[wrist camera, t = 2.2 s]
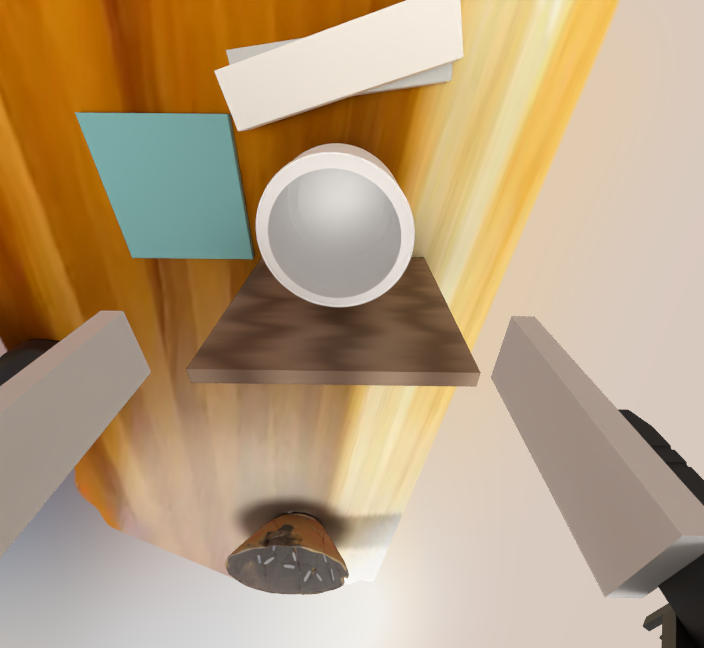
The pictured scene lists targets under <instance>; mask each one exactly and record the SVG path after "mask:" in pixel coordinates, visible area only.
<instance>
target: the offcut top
mask: <svg viewBox="0 0 704 648" xmlns="http://www.w3.org/2000/svg"><path fill="white" fill-rule="evenodd" d="M461 58H463V40H462V22H461V4H460V0H406V1H403V2H401V3H398V4H395V5H392V6H390V7H387V8H384V9H382V10H379V11H376V12H373V13H371V14H368V15H365V16H362V17H360V18H357V19H354V20H352V21H349V22H346V23H343V24H341V25H338V26H335V27H332V28H330V29H327V30H324V31H321V32H319V33H316V34H313V35H311V36H308V37H305V38H302V39H300V40H297V41H294V42H291V43H289V44H286V45H283V46H281V47H278V48H275V49H272V50H270V51H267V52H264V53H261V54H259V55H256V56H253V57H251V58H248V59H245V60H242V61H240V62H237V63H234V64H231V65H229V66H226V67H223V68H220V69H218V70H215V71H214V72H215V74H216V77H217V79H218V82H219V84H220V87H221V89H222V92H223V94H224V97H225V99H226V102H227V105H228V107H229V110H230V112H231V115H232V117H233V120H234V122H235V125H236V127H237V130H238V131H247V130H251V129H254V128H257V127H260V126H263V125H266V124H269V123H272V122H275V121H278V120H282V119H285V118H288V117H291V116H294V115H297V114H300V113H303V112H306V111H309V110H312V109H315V108H318V107H321V106H324V105H327V104H330V103H333V102H336V101H339V100H342V99H345V98H348V97H351V96H354V95H357V94H360V93H363V92H366V91H370V90H373V89H376V88H379V87H382V86H385V85H388V84H391V83H394V82H397V81H400V80H403V79H406V78H409V77H412V76H415V75H418V74H421V73H424V72H427V71H430V70H433V69H436V68H439V67H442V66H445V65H448V64H451V63H454V62H456V61H457V60H459V59H461Z"/></svg>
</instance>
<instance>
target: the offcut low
mask: <svg viewBox="0 0 704 648" xmlns="http://www.w3.org/2000/svg"><path fill="white" fill-rule="evenodd" d="M300 39H302V38H300ZM300 39H294V40H287V41H281V42H275V43H268V44H262V45H255V46H249V47H243V48H236V49H230V50H226V52H227V56H228V60H229V64H230V65H231V64H234V63H237V62H240V61H242V60H245V59H248V58H251V57H253V56H256V55H259V54H261V53H264V52H267V51H270V50H272V49H275V48H278V47H281V46H283V45H286V44H289V43H291V42H294V41H297V40H300ZM452 66H453V63H451V64H448V65H445V66H442V67H439V68H436V69H433V70H430V71H427V72H424V73H421V74H418V75H415V76H412V77H409V78H406V79H403V80H400V81H397V82H394V83H391V84H388V85H385V86H382V87H379V88H376V89H373V90H370V91H366V92H363V93H360V94H357V95H364V94H371V93H378V92H385V91H392V90H399V89H406V88H413V87H420V86H427V85H434V84H441V83H446V82H449V81H451V80H452ZM357 95H354V96H357Z"/></svg>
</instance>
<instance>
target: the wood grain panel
mask: <svg viewBox="0 0 704 648" xmlns="http://www.w3.org/2000/svg"><path fill="white" fill-rule="evenodd" d="M186 371H187V373H188V376H189V379H190V381H191V383H249V384H326V385H403V386H477V382H478V379H479V376H480V371H479V369H478V367H477V365H476V363H475V361H474V359H473V357H472V355H471V353H470V350H469V348H468V346H467V344H466V342H465V340H464V338H463V336H462V334H461V332H460V330H459V328H458V326H457V324H456V322H455V320H454V318H453V316H452V314H451V312H450V310H449V308H448V305H447V303H446V301H445V299H444V297H443V295H442V293H441V291H440V289H439V287H438V285H437V283H436V281H435V279H434V277H433V275H432V273H431V271H430V269H429V267H428V265H427V263H426V260H425V258H411V259H410V261H409V264H408V266H407V268H406V270H405V271H404V273H403V274H402V276H401V277H400V279H399V280H398V281H397V282H396V283H395V284H394V285H393V286H392V287H391V288H390V289H389V290H388V291H386V292H385V293H384V294H382V295H381V296H379V297H377V298H375V299H373V300H371V301H369V302H366V303H363V304H360V305H356V306H350V307H329V306H323V305H319V304H315V303H312V302H309V301H307V300H305V299H303V298H301V297H299V296H297V295H295V294H294V293H292V292H291V291H289V290H288V289H287V288H286V287H284V286H283V285H282V284H281V283H280V282H279V281H278V280H277V279H276V278H275V276H274V275H273V274H272V273H271V271H270V270H269V268H268V267H267V265H266V263H265V261H264V259H263V257H262V258H261V259H260V261H259V262H258V264H257V265H256V267H255V268H254V270H253V271H252V273H251V274H250V275H249V277H248V278H247V280H246V281H245V283H244V284H243V286H242V287H241V289H240V290H239V292H238V293H237V295H236V296H235V298H234V299H233V301H232V302H231V303H230V305H229V306H228V308H227V309H226V311H225V312H224V314H223V315H222V317H221V318H220V320H219V321H218V323H217V324H216V326H215V327H214V329H213V330H212V331H211V333H210V334H209V336H208V337H207V339H206V340H205V342H204V343H203V345H202V346H201V348H200V349H199V351H198V352H197V354H196V355H195V357H194V358H193V359H192V361H191V362H190V364H189V365H188V367H187V368H186Z"/></svg>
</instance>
